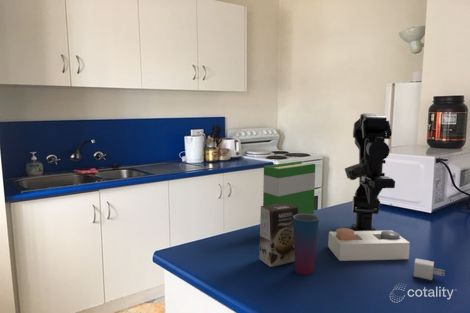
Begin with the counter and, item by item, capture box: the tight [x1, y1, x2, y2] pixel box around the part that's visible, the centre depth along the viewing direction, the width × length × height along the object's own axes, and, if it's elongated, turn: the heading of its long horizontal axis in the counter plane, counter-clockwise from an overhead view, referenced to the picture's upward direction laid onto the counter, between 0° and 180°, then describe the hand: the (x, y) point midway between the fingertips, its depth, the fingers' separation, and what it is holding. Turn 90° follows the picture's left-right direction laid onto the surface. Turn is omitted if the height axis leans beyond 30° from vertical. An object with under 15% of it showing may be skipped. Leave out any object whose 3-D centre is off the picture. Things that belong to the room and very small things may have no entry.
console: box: [327, 230, 411, 262], centre depth 113 cm, size 11×21×5 cm, turn 93°
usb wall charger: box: [413, 258, 446, 281], centre depth 97 cm, size 4×7×4 cm, turn 60°
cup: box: [293, 214, 320, 276], centre depth 100 cm, size 7×7×15 cm
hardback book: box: [262, 160, 316, 215], centre depth 130 cm, size 18×7×24 cm, turn 127°
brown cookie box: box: [259, 203, 298, 268], centre depth 106 cm, size 9×6×16 cm
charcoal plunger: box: [381, 230, 401, 240], centre depth 113 cm, size 5×5×6 cm
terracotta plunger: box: [335, 227, 355, 240], centre depth 112 cm, size 5×5×6 cm
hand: (370, 204), depth 120 cm, fingers closed
